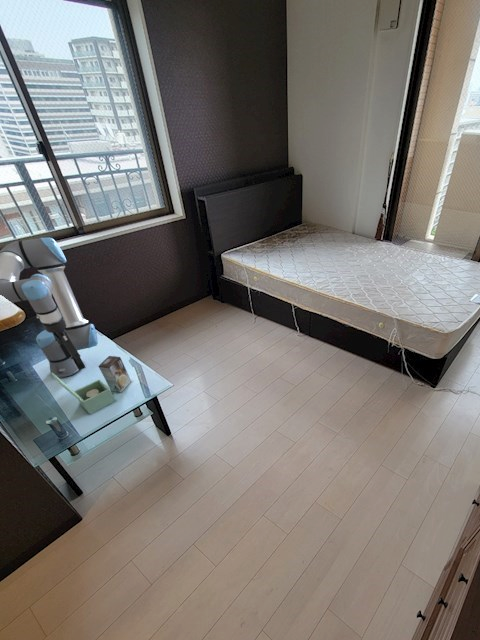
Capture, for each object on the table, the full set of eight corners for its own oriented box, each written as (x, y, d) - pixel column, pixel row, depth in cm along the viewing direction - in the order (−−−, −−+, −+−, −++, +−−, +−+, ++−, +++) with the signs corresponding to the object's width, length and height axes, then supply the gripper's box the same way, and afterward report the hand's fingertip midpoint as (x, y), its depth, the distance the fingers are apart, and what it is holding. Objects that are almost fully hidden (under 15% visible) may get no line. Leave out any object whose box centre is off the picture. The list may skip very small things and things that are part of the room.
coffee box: (120, 379, 181) (109, 355, 170) (131, 381, 180) (120, 356, 169) (110, 390, 175) (97, 365, 164) (121, 392, 174) (109, 367, 163)
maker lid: (52, 372, 152) (50, 373, 151) (61, 383, 146) (60, 384, 146) (73, 390, 162) (71, 391, 162) (83, 401, 157) (81, 402, 156)
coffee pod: (100, 395, 171) (95, 387, 167) (105, 401, 168) (100, 392, 164) (88, 401, 168) (84, 393, 164) (93, 406, 165) (89, 398, 161)
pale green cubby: (105, 391, 174) (99, 379, 169) (115, 401, 169) (109, 389, 164) (80, 403, 168) (73, 391, 162) (89, 414, 162) (82, 402, 157)
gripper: (31, 312, 141) (56, 354, 156) (53, 335, 129) (78, 378, 144) (50, 306, 145) (73, 347, 160) (74, 327, 133) (96, 370, 148)
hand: (75, 362), depth 152 cm, fingers open, 13 cm apart
